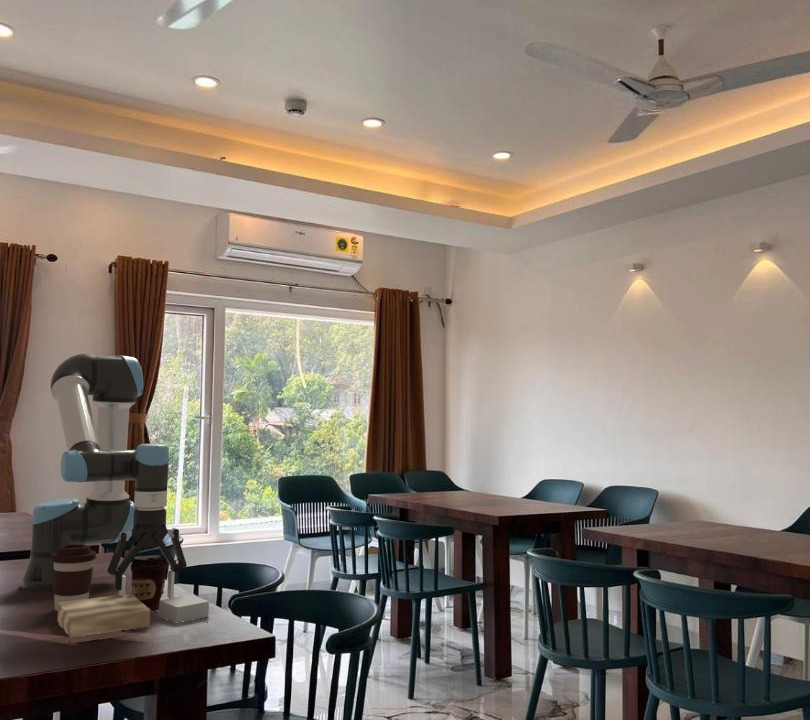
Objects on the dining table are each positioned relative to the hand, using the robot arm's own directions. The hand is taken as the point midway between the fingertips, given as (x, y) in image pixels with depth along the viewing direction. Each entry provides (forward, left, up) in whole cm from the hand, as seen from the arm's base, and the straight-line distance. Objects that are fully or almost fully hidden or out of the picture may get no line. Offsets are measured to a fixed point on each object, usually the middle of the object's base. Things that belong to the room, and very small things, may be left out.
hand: (146, 600), depth 183 cm
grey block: (+13, +5, -3) cm, 14 cm away
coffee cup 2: (+1, 0, -3) cm, 3 cm away
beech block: (+10, -12, -3) cm, 16 cm away
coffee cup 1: (-10, -15, -3) cm, 18 cm away
